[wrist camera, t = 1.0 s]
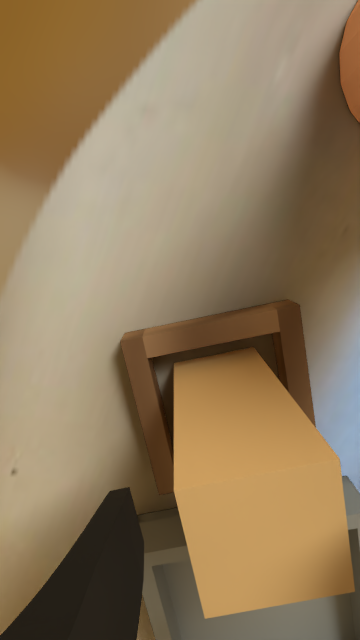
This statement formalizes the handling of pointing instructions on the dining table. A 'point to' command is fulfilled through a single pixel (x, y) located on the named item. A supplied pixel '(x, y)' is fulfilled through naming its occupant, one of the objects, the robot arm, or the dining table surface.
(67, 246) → the dining table surface
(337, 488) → the tan rectangular block
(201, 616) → the tray
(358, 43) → the salt shaker
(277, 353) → the socket collar
